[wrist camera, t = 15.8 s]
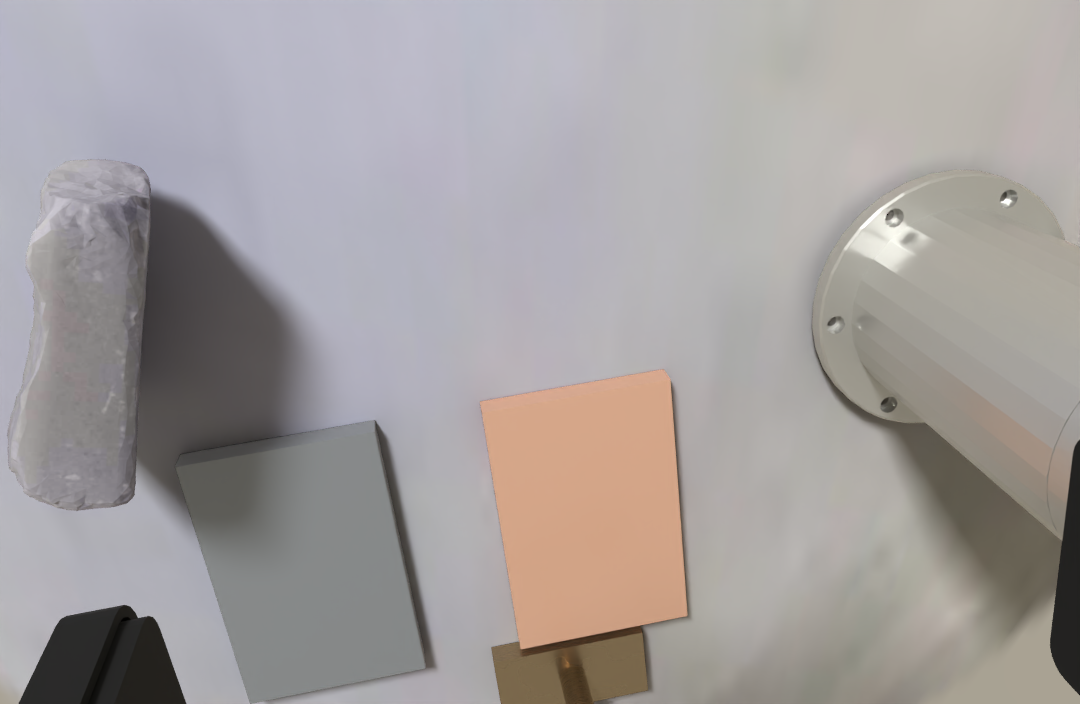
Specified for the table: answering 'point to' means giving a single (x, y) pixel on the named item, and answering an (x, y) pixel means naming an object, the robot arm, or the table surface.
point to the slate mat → (305, 559)
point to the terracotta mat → (588, 506)
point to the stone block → (84, 338)
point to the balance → (572, 669)
